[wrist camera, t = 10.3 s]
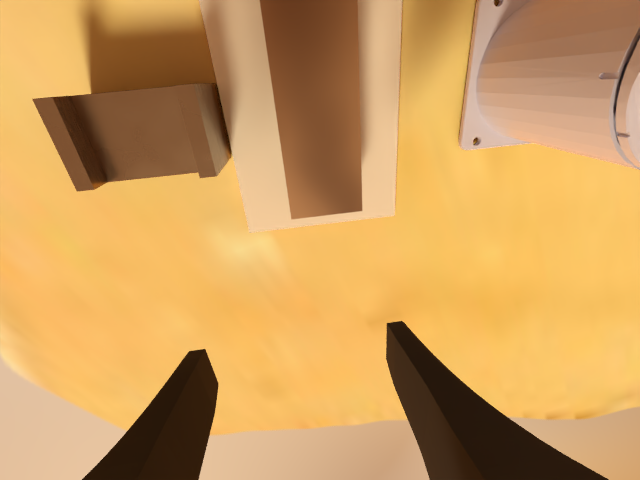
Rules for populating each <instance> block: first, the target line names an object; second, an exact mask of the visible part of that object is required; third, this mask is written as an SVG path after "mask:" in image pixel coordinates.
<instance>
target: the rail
mask: <svg viewBox="0 0 640 480" xmlns="http://www.w3.org/2000/svg"><path fill="white" fill-rule="evenodd" d="M260 7H261V13H262V20H263V27H264V34H265V41H266V48H267V55H268V62H269V69H270V75H271V82H272V89H273V96H274V103H275V110H276V117H277V124H278V131H279V137H280V144H281V151H282V158H283V165H284V172H285V179H286V186H287V192H288V199H289V206H290V213H291V220H292V219H300V218H308V217H317V216H325V215H334V214H342V213H350V212H359V211H362V169H361V126H360V83H359V40H358V0H260Z"/></svg>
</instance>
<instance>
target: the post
mask: <svg viewBox="0 0 640 480" xmlns="http://www.w3.org/2000/svg"><path fill="white" fill-rule="evenodd" d="M33 102H34V104H35V106H36V108H37V110H38V112H39V114H40V116H41V118H42V120H43V122H44V124H45V126H46V128H47V130H48V132H49V135H50V137H51V139H52V141H53V143H54V145H55V147H56V149H57V151H58V153H59V155H60V157H61V159H62V161H63V163H64V165H65V168H66V170H67V172H68V174H69V176H70V178H71V180H72V182H73V184H74V186H75V188H76V190H77V191H85V190H94V189H96V188H98V187H100V186H102V185H103V184H105V183H107V182H114V181H123V180H132V179H141V178H151V177H160V176H169V175H178V174H188V173H197V172H199V176H200V178H205V177H214V176H217V175H218V174H219V173H220V171H221V170H222V169H223V167H224V166H225V165H226V163H227V162H228V161H229V159H230V158H231V155H230V150H229V146H228V141H227V137H226V132H225V128H224V123H223V119H222V114H221V110H220V105H219V101H218V96H217V91H216V87H215V83H211V84H185V85H175V86H171V87H160V88H150V89H139V90H128V91H118V92H107V93H97V94H86V95H76V96H62V97H48V98H38V99H33Z"/></svg>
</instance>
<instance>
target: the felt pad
mask: <svg viewBox="0 0 640 480" xmlns="http://www.w3.org/2000/svg"><path fill="white" fill-rule="evenodd" d="M199 3H200V8H201V13H202V17H203V22H204V26H205V31H206V35H207V40H208V45H209V49H210V54H211V58H212V63H213V68H214V72H215V77H216V81H217V86H218V90H219V95H220V100H221V104H222V109H223V113H224V118H225V123H226V127H227V132H228V136H229V141H230V146H231V150H232V155H233V159H234V164H235V168H236V173H237V178H238V182H239V187H240V191H241V196H242V201H243V205H244V210H245V214H246V219H247V223H248V228H249V233H252V232H261V231H269V230H278V229H286V228H295V227H303V226H312V225H320V224H329V223H337V222H346V221H354V220H363V219H371V218H380V217H388V216H395V195H396V166H397V138H398V109H399V81H400V52H401V24H402V0H358V40H359V83H360V126H361V169H362V211H359V212H350V213H342V214H334V215H325V216H317V217H308V218H300V219H292V220H291V213H290V206H289V199H288V192H287V186H286V179H285V172H284V165H283V158H282V151H281V144H280V137H279V131H278V124H277V117H276V110H275V103H274V96H273V89H272V82H271V75H270V69H269V62H268V55H267V48H266V41H265V34H264V27H263V20H262V13H261V7H260V0H199Z"/></svg>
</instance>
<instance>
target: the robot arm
mask: <svg viewBox="0 0 640 480" xmlns="http://www.w3.org/2000/svg"><path fill="white" fill-rule="evenodd" d="M476 137H477V139H478V140H477V142H476V143H475V144H473V140H474V139H475V138H476ZM529 143H534V144H538V145H542V146H546V147H550V148H554V149H558V150H562V151H566V152H570V153H574V154H578V155H582V156H587V157H591V158H595V159H599V160H603V161H607V162H611V163H615V164H619V165H623V166H627V167H631V168H635V169H639V170H640V0H499V3H498V6H495V5H494V0H477V2H476V9H475V17H474V25H473V33H472V40H471V48H470V56H469V64H468V72H467V80H466V87H465V95H464V103H463V111H462V119H461V127H460V134H459V147H460V148H461V149H464V150H474V149H484V148H493V147H502V146H511V145H520V144H529ZM386 360H387V363H388V367H389V370H390V374H391V377H392V380H393V384H394V386H395V389H396V391H397V394H398V396H399V399H400V401H401V404H402V406H403V409H404V411H405V413H406V416H407V418H408V421H409V423H410V426H411V428H412V430H413V433H414V435H415V438H416V440H417V443H418V445H419V448H420V451H421V453H422V456H423V459H424V462H425V466H426V468H427V472H428V475H429V478H430V480H608V479H607V478H605V477H603V476H601V475H600V474H598V473H596V472H594V471H592V470H591V469H589V468H587V467H585V466H584V465H582V464H580V463H578V462H577V461H574V460H573V459H571V458H569V457H568V456H566V455H564V454H562V453H561V452H559V451H558V450H556V449H554V448H553V447H551V446H550V445H548V444H546V443H545V442H543V441H541V440H540V439H538V438H537V437H535V436H534V435H533V434H531V433H529V432H528V431H527V430H525V429H524V428H522V427H521V426H519V425H518V424H516V423H515V422H513V421H512V420H510V419H509V418H508V417H506V416H505V415H503V414H502V413H501V412H499V411H498V410H497V409H495V408H494V407H493V406H491V405H490V404H489V403H488V402H486V401H485V400H484V399H482V398H481V397H480V396H479V395H477V394H476V393H475V392H474V391H473V390H471V389H470V388H469V387H468V386H467V385H466V384H464V383H463V382H462V381H461V380H460V379H459V378H458V377H456V376H455V375H454V374H453V373H452V372H451V371H450V370H449V369H448V368H447V367H446V366H445V365H444V364H443V363H442V362H440V361H439V360H438V359H437V358H436V357H435V356H434V355H433V354H432V353H431V352H430V351H429V350H428V349H427V347H426V346H425V345H424V344H423V343H422V342H421V341H420V340H419V339H418V338H417V337H416V336H415V335H414V333H413V332H412V331H411V330H410V329H409V328H408V327H407V325H406V324H405V323H404V322H402V321H399V322H392V323H387V348H386ZM217 392H218V381H217V379H216V376H215V374H214V371H213V368H212V366H211V363H210V360H209V358H208V355H207V353H206V350H205V349H202V350H195V351H189V352H188V354H187V355H186V356H185V358H184V359H183V360H182V362H181V363H180V364H179V366H178V367H177V368H176V370H175V371H174V373H173V374H172V375H171V377H170V378H169V379H168V381H167V382H166V383H165V385H164V386H163V387H162V389H161V390H160V391H159V393H158V394H157V395H156V397H155V398H154V399H153V400H152V402H151V403H150V404H149V406H148V407H147V408H146V409H145V411H144V412H143V413H142V414H141V415H140V417H139V418H138V419H137V420H136V421H135V423H134V424H133V425H132V426H131V428H130V429H129V430H128V431H127V432H126V434H125V435H124V436H123V437H122V438H121V439H120V440H119V441H118V443H117V444H116V445H115V446H114V447H113V448H112V449H111V450H110V451H109V452H108V454H107V455H106V456H105V457H104V458H103V459H102V460H101V461H100V462H99V463H98V464H97V465H96V466H95V467H94V468H93V469H92V470H91V471H90V472H89V473H88V474H87V475H86V476H85V477H84V478H83V479H82V480H198V479H199V475H200V471H201V466H202V463H203V458H204V455H205V450H206V446H207V442H208V438H209V434H210V430H211V426H212V422H213V418H214V413H215V407H216V400H217Z"/></svg>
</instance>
